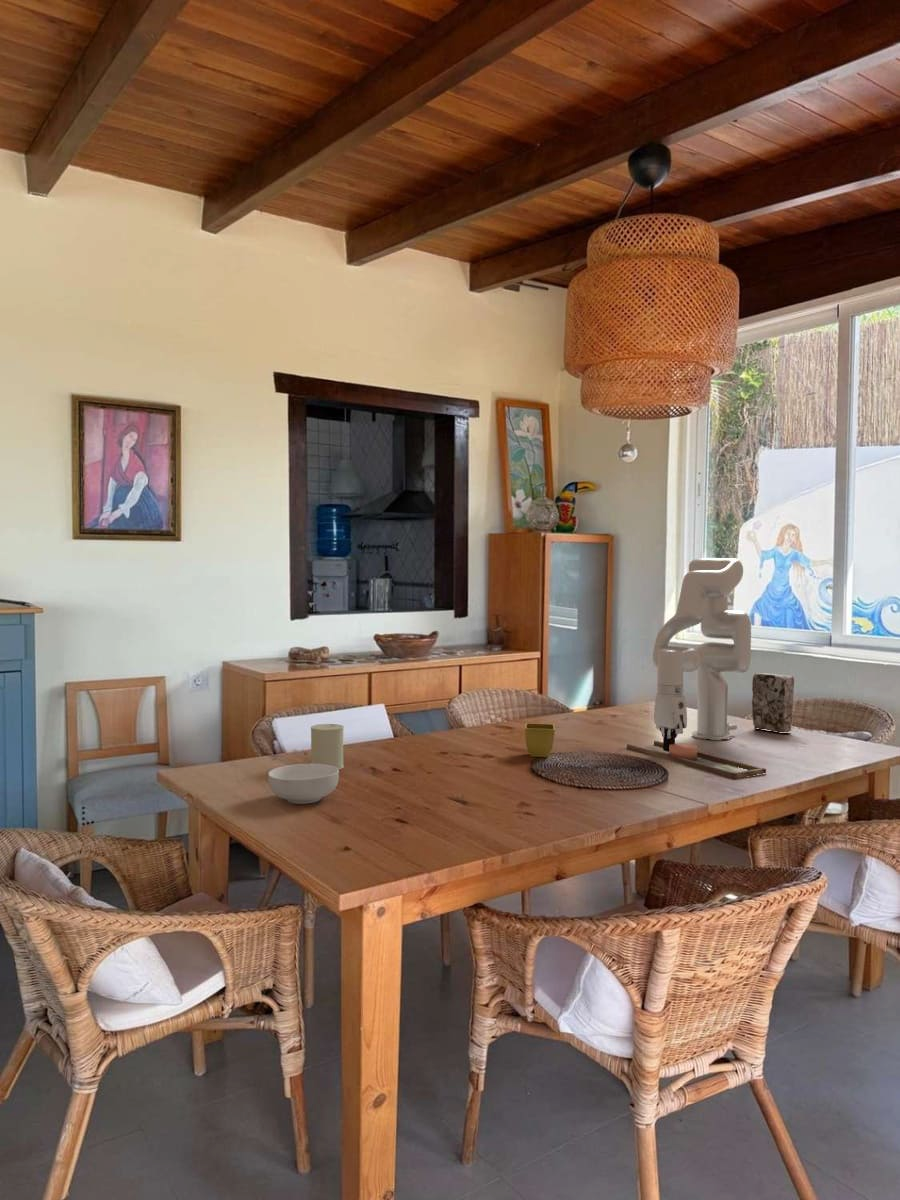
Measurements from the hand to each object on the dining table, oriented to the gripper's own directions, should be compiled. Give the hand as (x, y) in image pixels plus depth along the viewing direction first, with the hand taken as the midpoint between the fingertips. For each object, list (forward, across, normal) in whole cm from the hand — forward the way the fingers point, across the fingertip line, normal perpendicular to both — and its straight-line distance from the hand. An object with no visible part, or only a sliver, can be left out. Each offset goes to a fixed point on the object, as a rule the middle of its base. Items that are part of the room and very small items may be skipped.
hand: (668, 750), depth 268 cm
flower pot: (+2, +16, +36) cm, 39 cm away
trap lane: (+1, -10, 0) cm, 10 cm away
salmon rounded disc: (+1, -6, 0) cm, 6 cm away
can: (+2, +29, +98) cm, 103 cm away
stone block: (+1, +13, -58) cm, 59 cm away
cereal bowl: (+2, 0, +115) cm, 115 cm away
